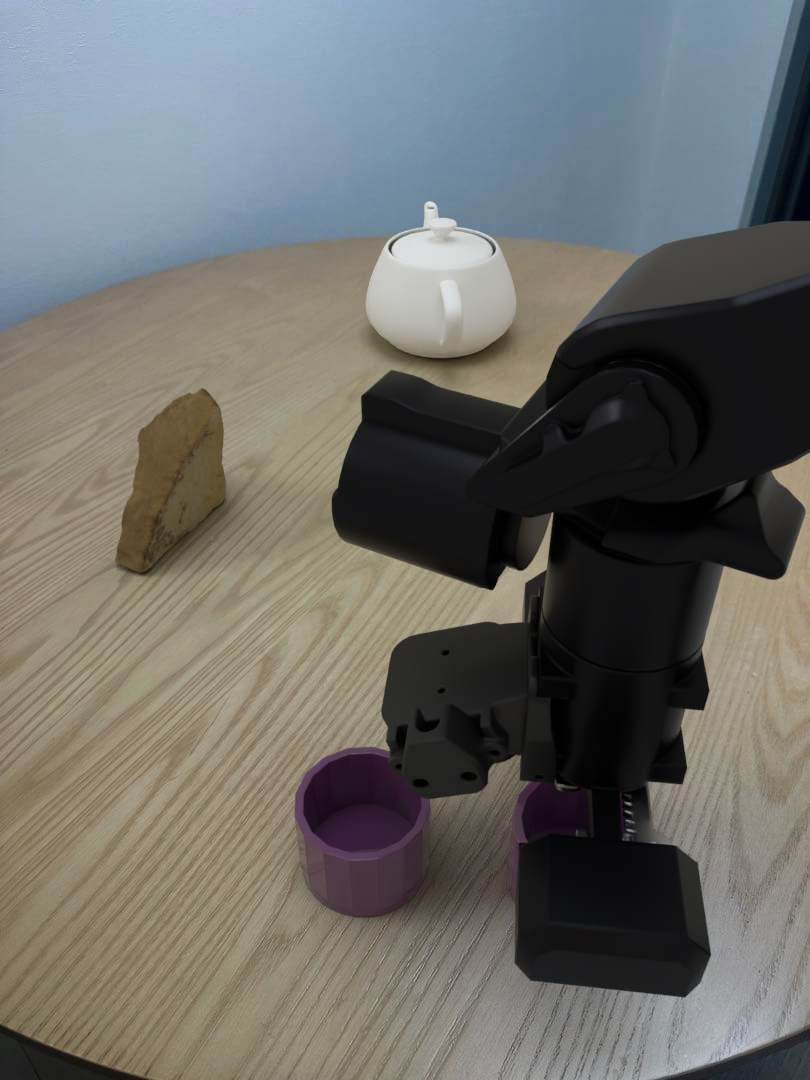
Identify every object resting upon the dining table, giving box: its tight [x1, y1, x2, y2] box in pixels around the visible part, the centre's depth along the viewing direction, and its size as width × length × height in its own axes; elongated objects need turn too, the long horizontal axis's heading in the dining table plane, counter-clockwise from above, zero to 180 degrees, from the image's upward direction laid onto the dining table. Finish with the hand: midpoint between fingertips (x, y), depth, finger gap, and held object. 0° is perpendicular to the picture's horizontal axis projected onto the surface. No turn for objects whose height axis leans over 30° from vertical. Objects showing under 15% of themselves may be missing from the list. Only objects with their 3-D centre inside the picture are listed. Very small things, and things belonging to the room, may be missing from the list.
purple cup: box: [506, 781, 632, 905], centre depth 42 cm, size 6×6×4 cm
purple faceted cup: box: [293, 746, 432, 918], centre depth 43 cm, size 6×6×4 cm
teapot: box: [365, 201, 517, 359], centre depth 85 cm, size 22×14×11 cm, turn 4°
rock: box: [114, 387, 227, 574], centre depth 63 cm, size 11×9×10 cm
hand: (575, 865), depth 43 cm, fingers closed on purple cup, 6 cm apart
